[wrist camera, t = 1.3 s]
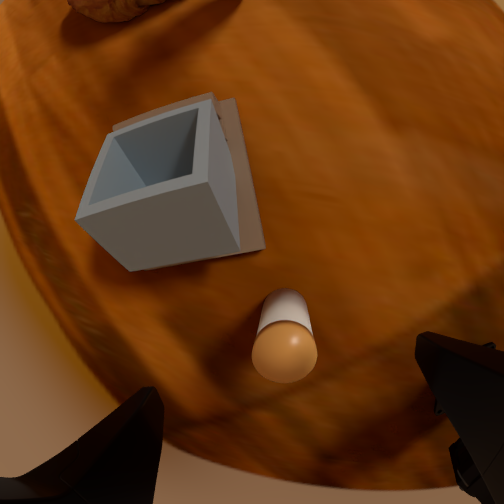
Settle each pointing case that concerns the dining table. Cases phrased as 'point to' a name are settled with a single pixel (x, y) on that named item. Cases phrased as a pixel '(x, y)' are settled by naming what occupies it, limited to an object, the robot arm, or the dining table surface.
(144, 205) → the leaning socket
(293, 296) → the orange-topped white peg
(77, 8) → the croissant
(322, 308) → the dining table surface
